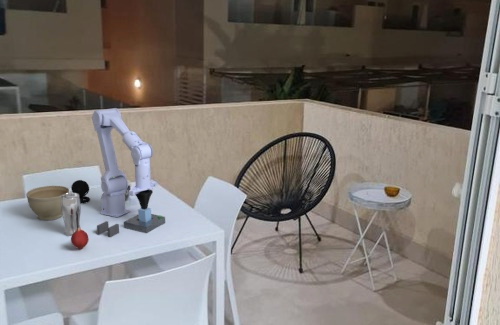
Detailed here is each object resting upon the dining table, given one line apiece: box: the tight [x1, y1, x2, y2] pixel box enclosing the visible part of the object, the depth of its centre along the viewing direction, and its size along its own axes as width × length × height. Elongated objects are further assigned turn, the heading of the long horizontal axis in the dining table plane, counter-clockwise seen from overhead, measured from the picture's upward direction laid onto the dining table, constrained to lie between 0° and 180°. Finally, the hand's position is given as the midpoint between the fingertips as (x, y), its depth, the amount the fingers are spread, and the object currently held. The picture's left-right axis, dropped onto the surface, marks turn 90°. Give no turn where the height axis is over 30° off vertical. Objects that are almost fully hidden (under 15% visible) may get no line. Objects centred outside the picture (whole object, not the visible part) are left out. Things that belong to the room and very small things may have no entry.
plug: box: [137, 207, 152, 222], centre depth 187 cm, size 4×4×7 cm
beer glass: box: [60, 192, 82, 237], centre depth 177 cm, size 7×7×15 cm
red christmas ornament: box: [70, 227, 90, 250], centre depth 165 cm, size 6×6×8 cm
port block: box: [123, 213, 166, 234], centre depth 187 cm, size 11×12×3 cm
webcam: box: [70, 179, 91, 204], centre depth 213 cm, size 8×8×10 cm
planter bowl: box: [25, 185, 70, 221], centre depth 194 cm, size 16×16×11 cm
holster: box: [96, 221, 120, 238], centre depth 179 cm, size 6×5×4 cm
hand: (144, 208), depth 186 cm, fingers closed
